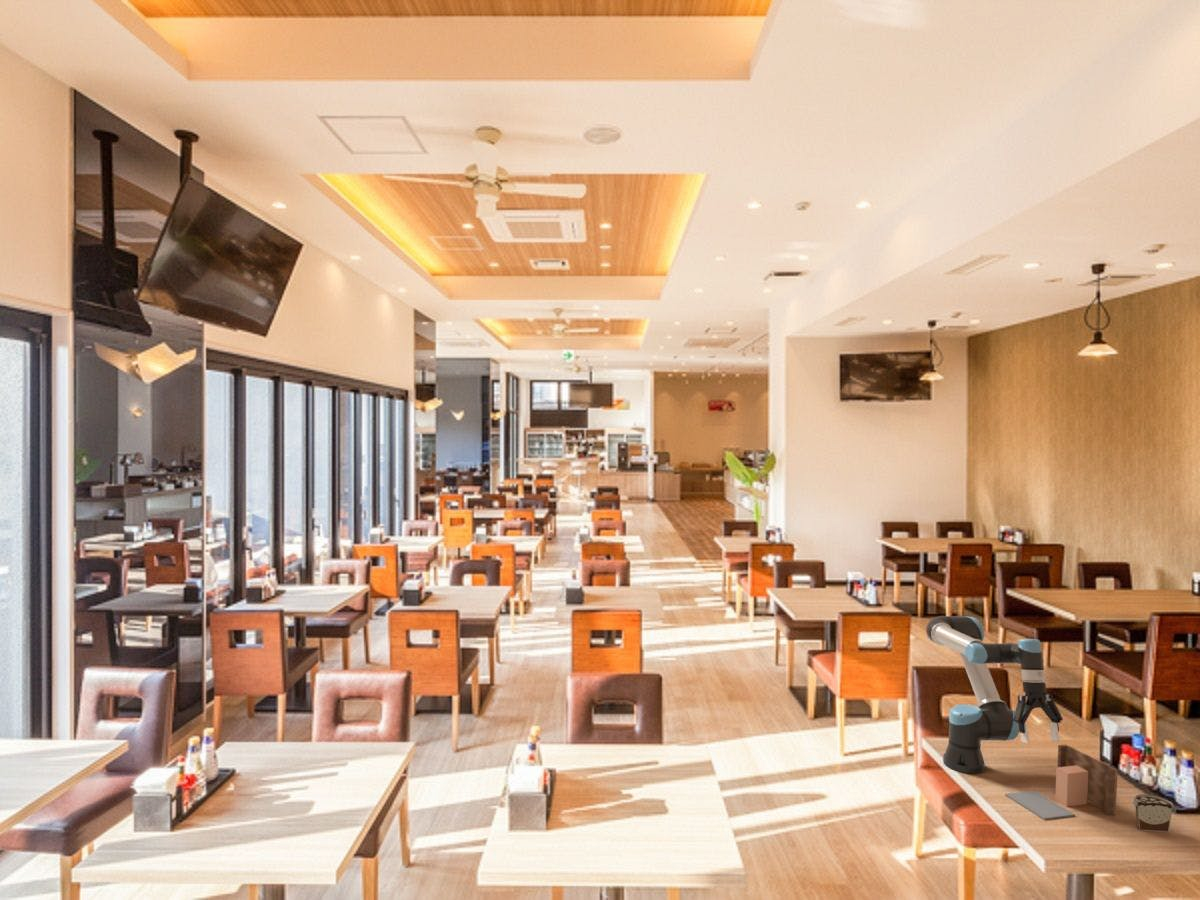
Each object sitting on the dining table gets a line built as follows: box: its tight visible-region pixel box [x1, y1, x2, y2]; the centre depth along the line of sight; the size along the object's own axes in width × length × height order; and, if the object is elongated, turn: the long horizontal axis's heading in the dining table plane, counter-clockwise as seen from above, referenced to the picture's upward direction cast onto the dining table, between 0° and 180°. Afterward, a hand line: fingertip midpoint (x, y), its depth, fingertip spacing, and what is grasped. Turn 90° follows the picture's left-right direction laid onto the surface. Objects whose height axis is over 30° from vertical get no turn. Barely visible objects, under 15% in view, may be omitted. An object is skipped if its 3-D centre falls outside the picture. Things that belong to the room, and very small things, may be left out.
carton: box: [1054, 765, 1088, 807], centre depth 280 cm, size 5×9×12 cm, turn 104°
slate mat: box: [1004, 790, 1076, 820], centre depth 277 cm, size 18×13×1 cm
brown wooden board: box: [1057, 743, 1119, 817], centre depth 281 cm, size 22×4×16 cm, turn 14°
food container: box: [1132, 793, 1175, 833], centre depth 263 cm, size 12×6×10 cm, turn 84°
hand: (1040, 741), depth 282 cm, fingers open, 13 cm apart
